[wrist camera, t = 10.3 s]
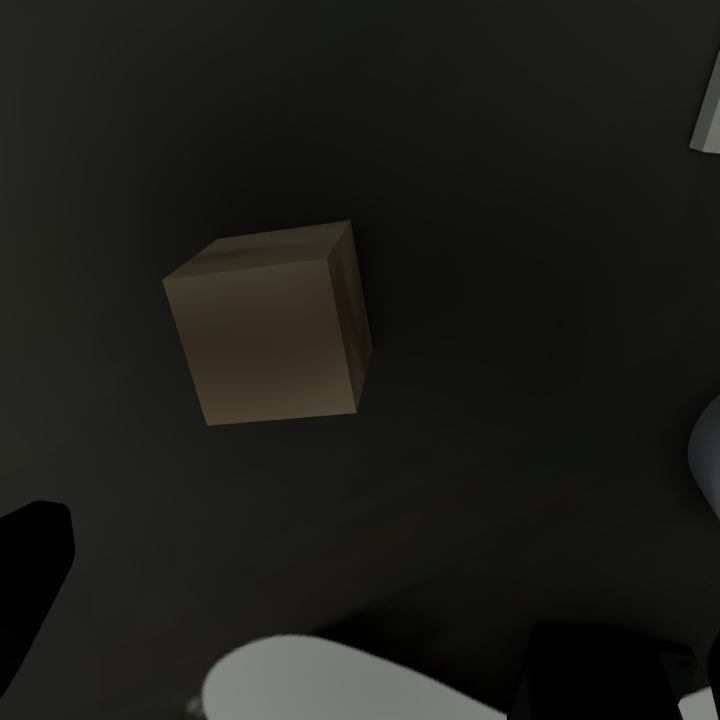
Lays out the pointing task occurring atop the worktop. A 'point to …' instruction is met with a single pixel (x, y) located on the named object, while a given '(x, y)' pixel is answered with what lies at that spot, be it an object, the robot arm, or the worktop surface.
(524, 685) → the robot arm
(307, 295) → the oak block
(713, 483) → the blue-grey rounded cylinder
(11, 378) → the worktop surface
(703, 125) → the plate
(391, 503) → the worktop surface
